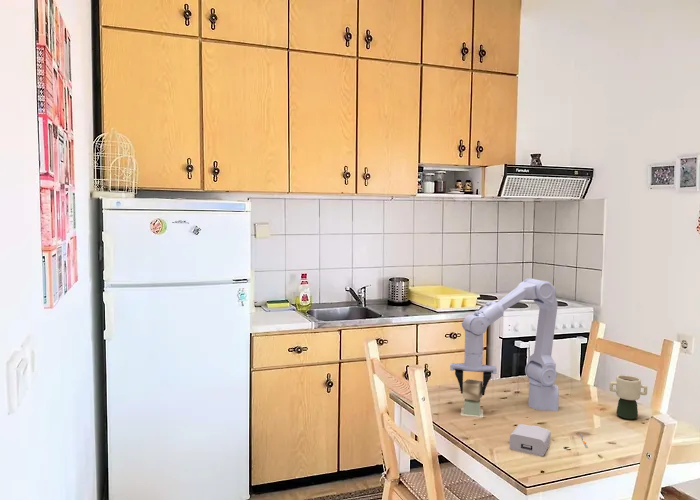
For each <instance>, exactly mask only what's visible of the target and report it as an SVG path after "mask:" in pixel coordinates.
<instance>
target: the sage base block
mask: <svg viewBox="0 0 700 500" xmlns="http://www.w3.org/2000/svg"><path fill="white" fill-rule="evenodd" d="M463 408H464V414H467V415H477V416H480V409H481V398H480V399H479V400H478V401H475V400H469V399H464V400H463Z"/></svg>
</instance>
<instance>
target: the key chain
mask: <svg viewBox="0 0 700 500" xmlns="http://www.w3.org/2000/svg"><path fill="white" fill-rule="evenodd" d="M579 435H580V439H581V441H582V443H583V445H584V447H585V449H589V447H588V445H587V442H586V441H584V440H583V439H584V438H583V434H582V433H579ZM569 448H570V447H569V446H563V449H564V450H567V449H569Z"/></svg>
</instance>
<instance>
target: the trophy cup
mask: <svg viewBox="0 0 700 500" xmlns="http://www.w3.org/2000/svg"><path fill="white" fill-rule="evenodd" d="M614 386H615V388H614ZM641 389H643V391H641ZM609 391H610V392H613V393H615V395H616V396H617V397H618V398H619V399H618V402H617V407H616V415H617V416H619V417H621V418H623V419H628V420H629V419H630V420H633V419H637V418H638V416H639V409H638V402H637V401H638V400H640V398H641V396H647V394H648V385H646V384H642V379H641V378H640V377H637V376H633V375H629V374H621V375H619V374H618V375H616V380H615V381H610V382H609Z"/></svg>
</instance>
